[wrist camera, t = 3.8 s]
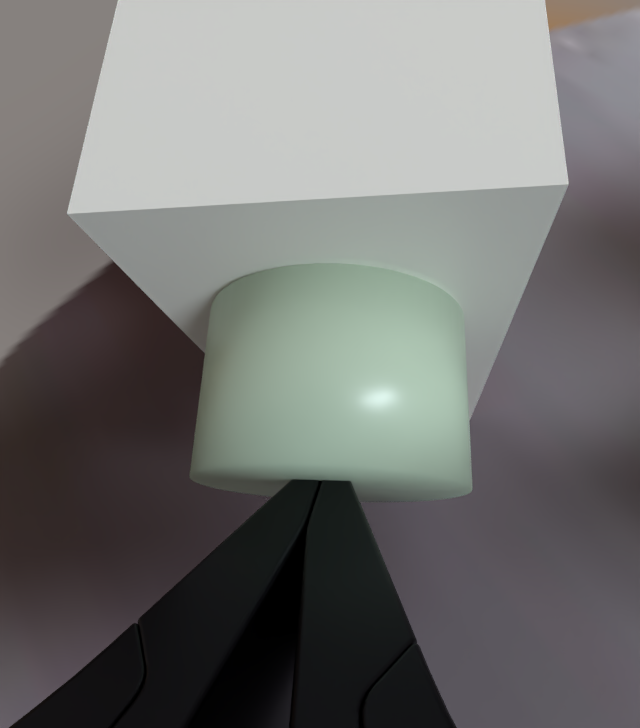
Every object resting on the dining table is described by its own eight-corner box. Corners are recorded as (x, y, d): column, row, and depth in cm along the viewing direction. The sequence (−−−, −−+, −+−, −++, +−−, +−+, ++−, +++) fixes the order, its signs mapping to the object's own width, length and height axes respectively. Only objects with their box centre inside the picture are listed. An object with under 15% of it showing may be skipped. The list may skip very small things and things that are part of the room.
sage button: (459, 505, 10) (491, 468, 6) (238, 498, 11) (136, 460, 7) (448, 216, 13) (466, 49, 8) (264, 225, 13) (198, 76, 9)
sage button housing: (470, 419, 16) (568, 183, 6) (268, 418, 17) (67, 214, 7) (463, 267, 17) (530, -113, 8) (280, 273, 18) (131, -55, 9)
